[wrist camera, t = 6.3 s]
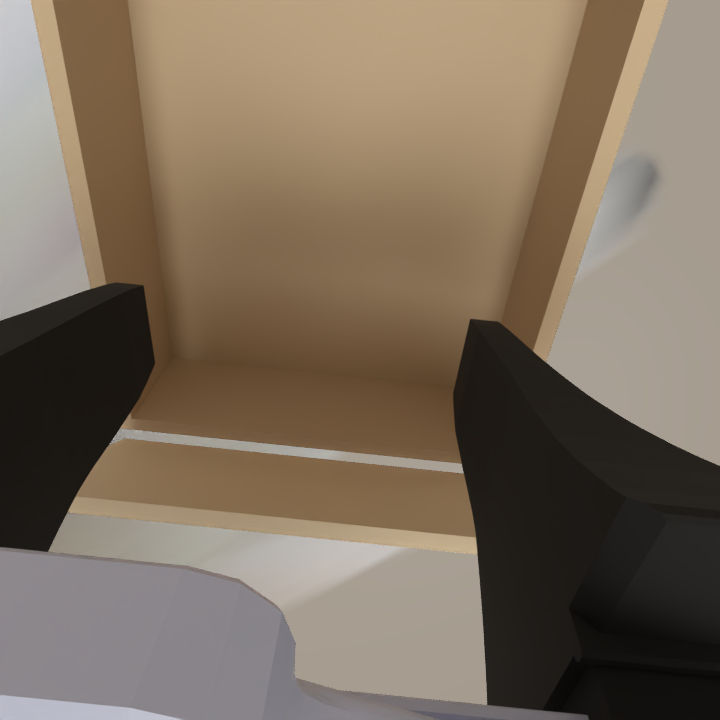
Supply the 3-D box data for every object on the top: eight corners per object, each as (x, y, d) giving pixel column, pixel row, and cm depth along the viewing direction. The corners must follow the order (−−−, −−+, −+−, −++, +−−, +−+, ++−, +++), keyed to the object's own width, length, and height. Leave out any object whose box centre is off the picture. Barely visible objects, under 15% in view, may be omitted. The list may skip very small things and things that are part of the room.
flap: (124, 438, 18) (123, 450, 18) (8, 489, 12) (7, 505, 12) (501, 477, 18) (500, 488, 18) (570, 547, 12) (569, 564, 12)
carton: (166, 360, 22) (119, 428, 19) (98, -149, 14) (-15, -216, 10) (490, 393, 22) (510, 468, 19) (625, -92, 14) (714, -137, 10)
